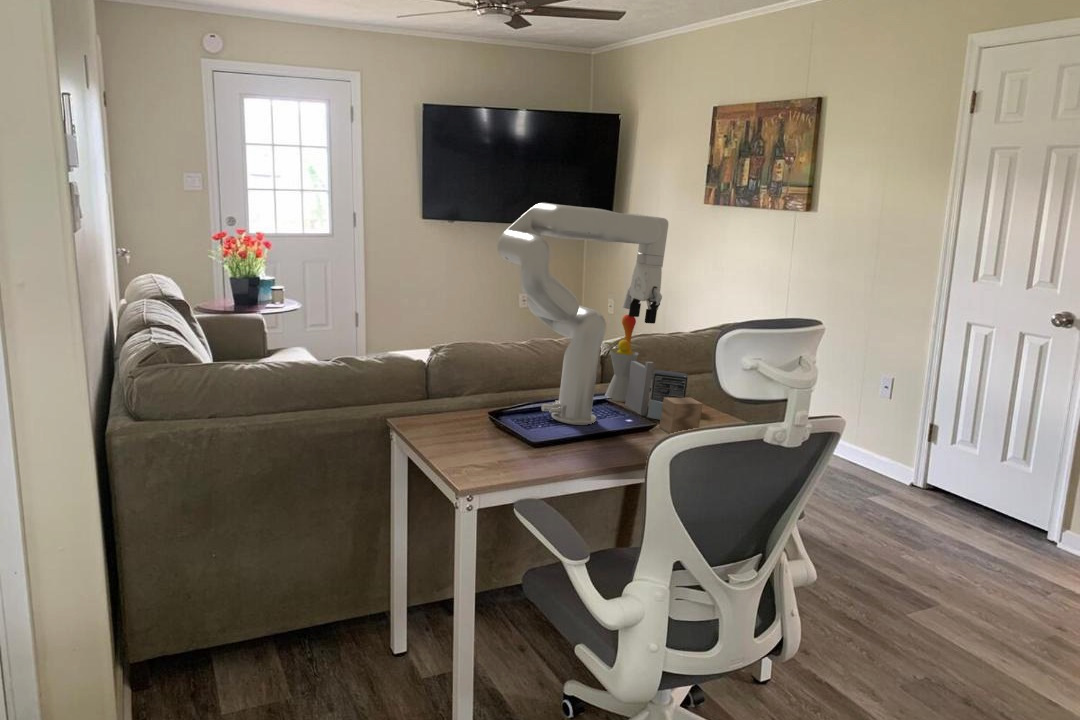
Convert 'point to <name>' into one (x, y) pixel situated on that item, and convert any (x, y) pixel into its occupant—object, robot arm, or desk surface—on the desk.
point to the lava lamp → (622, 358)
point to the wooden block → (680, 414)
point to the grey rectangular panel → (639, 387)
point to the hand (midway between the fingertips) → (641, 319)
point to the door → (655, 409)
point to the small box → (668, 385)
